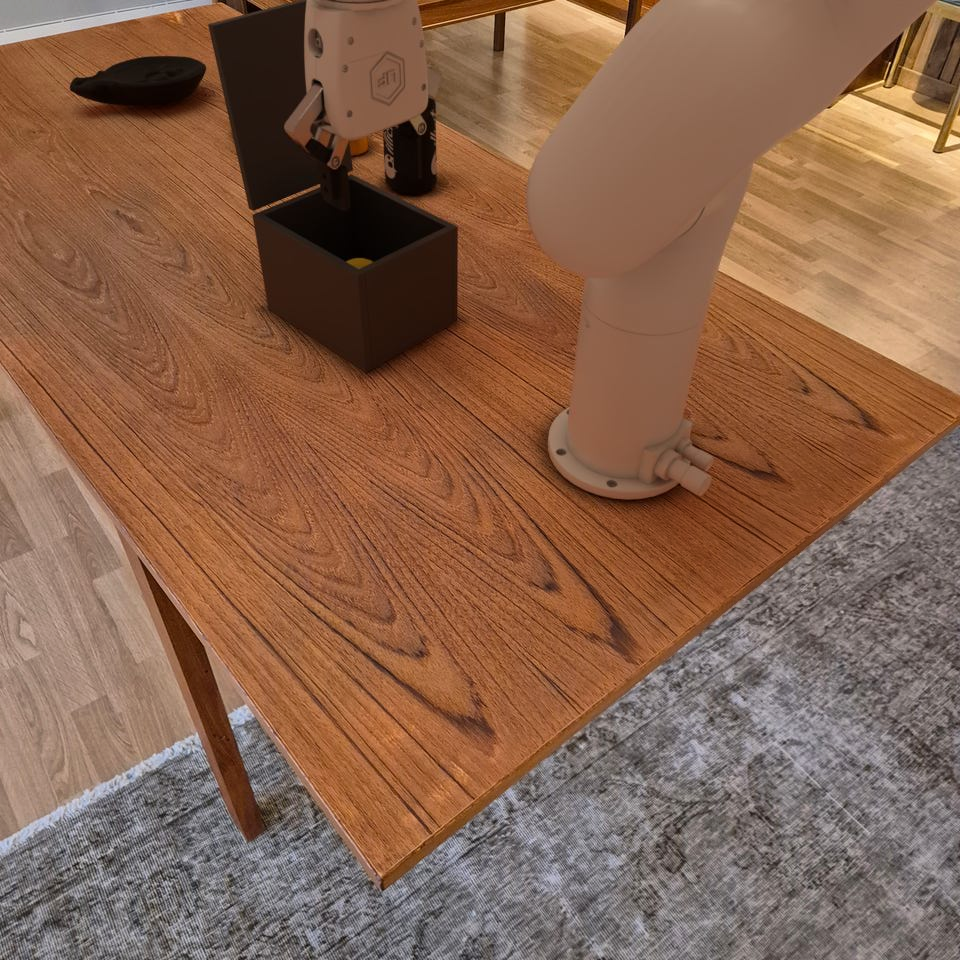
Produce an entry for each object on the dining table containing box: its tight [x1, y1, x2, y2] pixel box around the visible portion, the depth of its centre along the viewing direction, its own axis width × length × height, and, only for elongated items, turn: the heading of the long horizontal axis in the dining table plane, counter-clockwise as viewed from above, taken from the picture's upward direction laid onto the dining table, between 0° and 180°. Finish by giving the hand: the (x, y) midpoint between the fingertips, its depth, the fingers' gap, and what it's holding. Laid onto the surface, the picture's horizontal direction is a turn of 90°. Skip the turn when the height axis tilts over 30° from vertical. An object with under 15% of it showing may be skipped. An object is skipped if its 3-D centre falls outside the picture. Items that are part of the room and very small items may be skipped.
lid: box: [207, 0, 354, 212], centre depth 85 cm, size 16×13×5 cm
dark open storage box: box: [251, 173, 459, 374], centre depth 89 cm, size 16×13×11 cm
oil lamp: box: [69, 55, 207, 108], centre depth 130 cm, size 15×20×5 cm
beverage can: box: [382, 98, 438, 196], centre depth 110 cm, size 7×7×12 cm
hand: (373, 188), depth 81 cm, fingers open, 8 cm apart
